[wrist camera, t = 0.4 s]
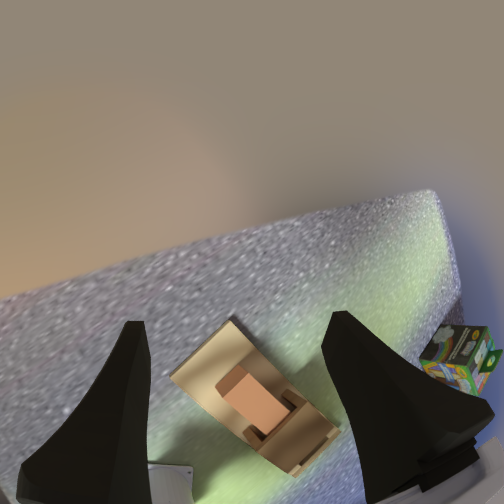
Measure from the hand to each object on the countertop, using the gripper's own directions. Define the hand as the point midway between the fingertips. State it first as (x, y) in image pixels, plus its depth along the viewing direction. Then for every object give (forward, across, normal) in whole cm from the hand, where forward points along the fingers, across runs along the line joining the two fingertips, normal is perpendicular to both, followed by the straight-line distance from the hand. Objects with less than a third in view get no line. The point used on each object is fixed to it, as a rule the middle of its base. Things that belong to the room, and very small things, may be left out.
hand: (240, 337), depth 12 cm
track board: (+12, -7, +28) cm, 32 cm away
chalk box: (+17, -43, +30) cm, 55 cm away
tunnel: (+10, -9, +29) cm, 33 cm away
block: (+12, -6, +27) cm, 30 cm away
